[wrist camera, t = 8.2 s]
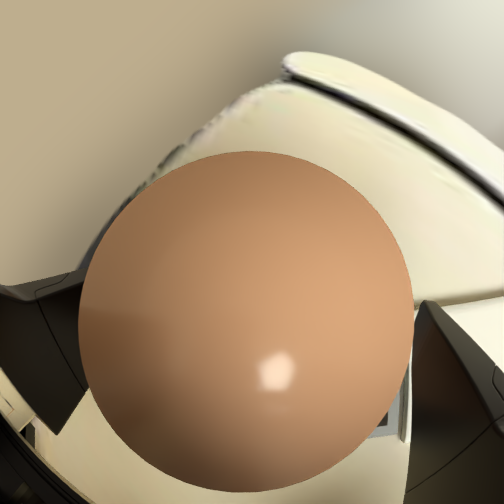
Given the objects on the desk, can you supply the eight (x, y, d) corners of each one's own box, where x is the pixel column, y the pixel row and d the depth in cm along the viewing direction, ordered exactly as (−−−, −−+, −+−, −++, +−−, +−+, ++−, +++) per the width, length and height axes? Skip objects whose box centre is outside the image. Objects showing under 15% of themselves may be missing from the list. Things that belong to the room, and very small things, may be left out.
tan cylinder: (319, 403, 14) (306, 539, 2) (233, 366, 16) (48, 372, 4) (357, 315, 16) (446, 204, 4) (270, 282, 17) (163, 135, 6)
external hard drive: (399, 314, 16) (532, 291, 13) (398, 438, 13) (535, 395, 10) (406, 310, 14) (543, 286, 12) (404, 445, 12) (547, 396, 9)
